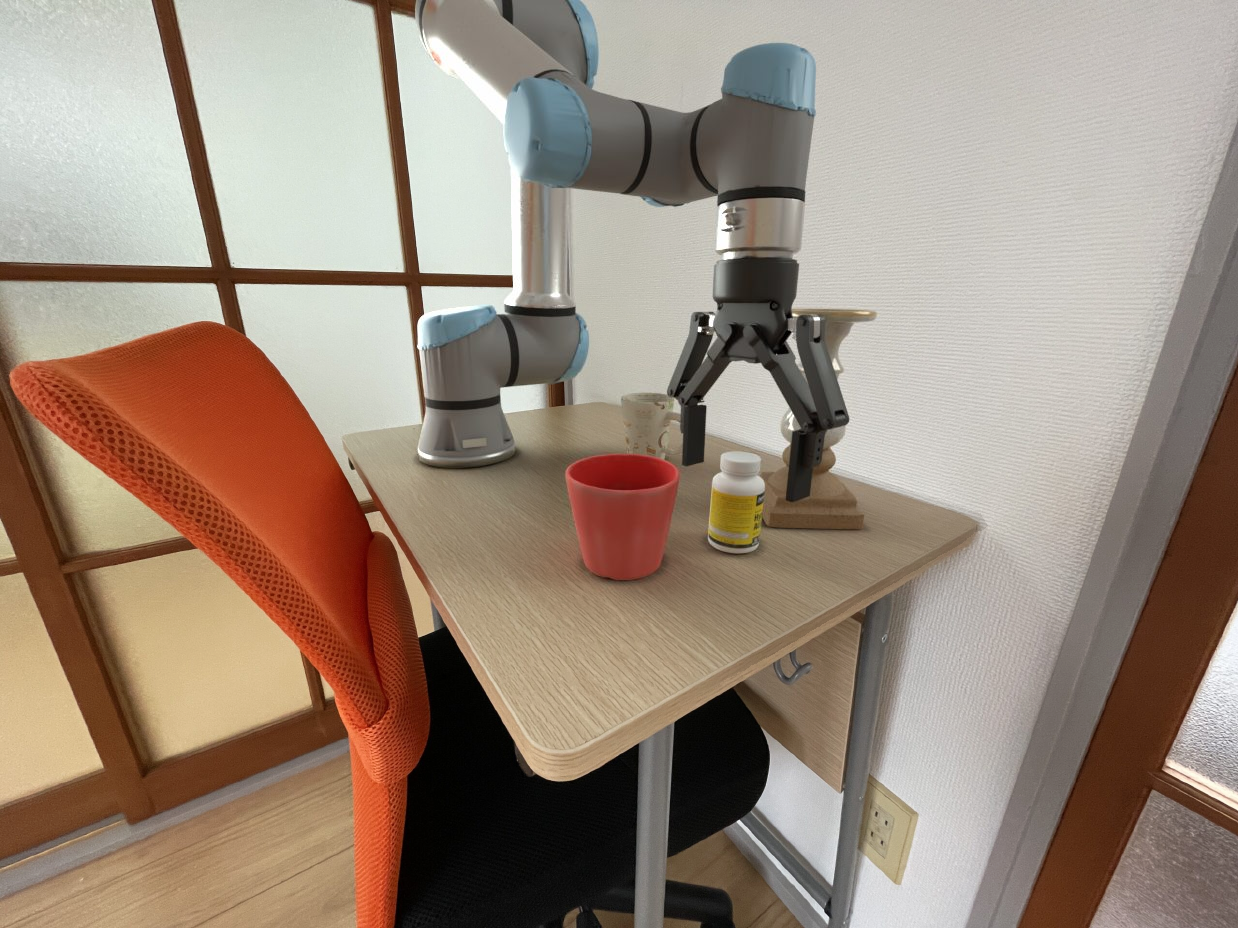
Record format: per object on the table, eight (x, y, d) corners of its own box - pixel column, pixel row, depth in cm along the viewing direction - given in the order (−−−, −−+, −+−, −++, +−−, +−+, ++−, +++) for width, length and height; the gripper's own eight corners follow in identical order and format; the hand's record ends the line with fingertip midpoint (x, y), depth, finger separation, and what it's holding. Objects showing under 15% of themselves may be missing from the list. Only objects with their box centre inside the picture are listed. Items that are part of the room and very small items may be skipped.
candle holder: (767, 527, 60) (789, 311, 53) (749, 493, 71) (765, 308, 63) (864, 529, 60) (900, 312, 53) (831, 494, 70) (858, 308, 63)
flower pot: (597, 602, 46) (596, 498, 43) (552, 549, 55) (549, 461, 52) (697, 574, 50) (703, 478, 47) (640, 530, 60) (642, 447, 57)
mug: (639, 448, 91) (640, 390, 88) (704, 461, 84) (708, 399, 81) (610, 459, 85) (610, 398, 82) (678, 475, 78) (681, 408, 75)
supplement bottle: (760, 557, 54) (769, 466, 51) (706, 552, 55) (712, 462, 52) (757, 535, 59) (766, 450, 56) (708, 530, 60) (714, 447, 57)
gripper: (637, 263, 55) (635, 457, 61) (868, 244, 36) (830, 528, 42) (688, 265, 59) (681, 447, 66) (918, 250, 40) (878, 507, 47)
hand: (740, 479), depth 54 cm, fingers open, 13 cm apart
